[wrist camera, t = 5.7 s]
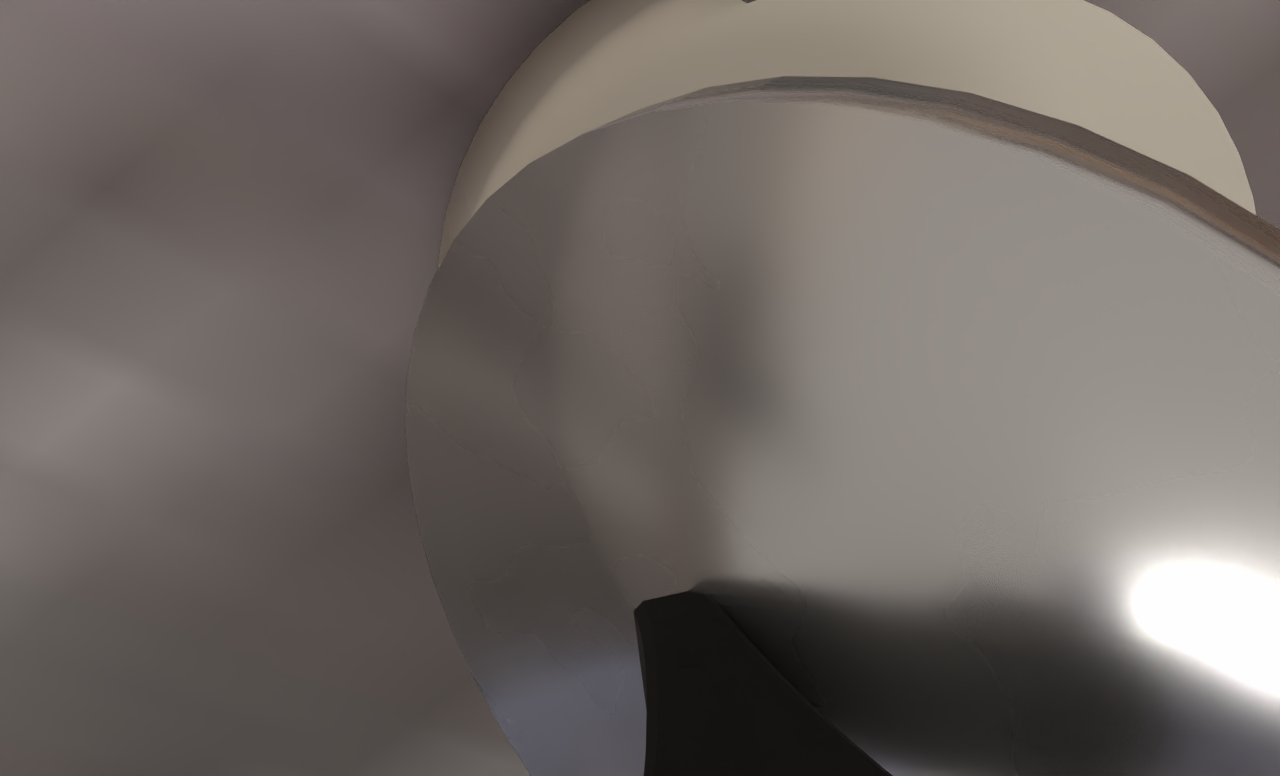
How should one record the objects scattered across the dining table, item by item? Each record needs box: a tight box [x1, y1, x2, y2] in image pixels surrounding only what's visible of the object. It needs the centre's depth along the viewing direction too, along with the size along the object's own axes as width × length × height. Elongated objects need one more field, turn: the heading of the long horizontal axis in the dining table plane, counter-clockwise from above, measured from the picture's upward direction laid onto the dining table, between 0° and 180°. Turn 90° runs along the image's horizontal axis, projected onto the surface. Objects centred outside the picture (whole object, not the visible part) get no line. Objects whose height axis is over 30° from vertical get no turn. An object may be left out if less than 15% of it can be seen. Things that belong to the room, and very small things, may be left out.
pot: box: [438, 0, 1256, 269], centre depth 20 cm, size 23×12×5 cm, turn 6°
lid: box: [405, 76, 1280, 776], centre depth 11 cm, size 12×12×2 cm
